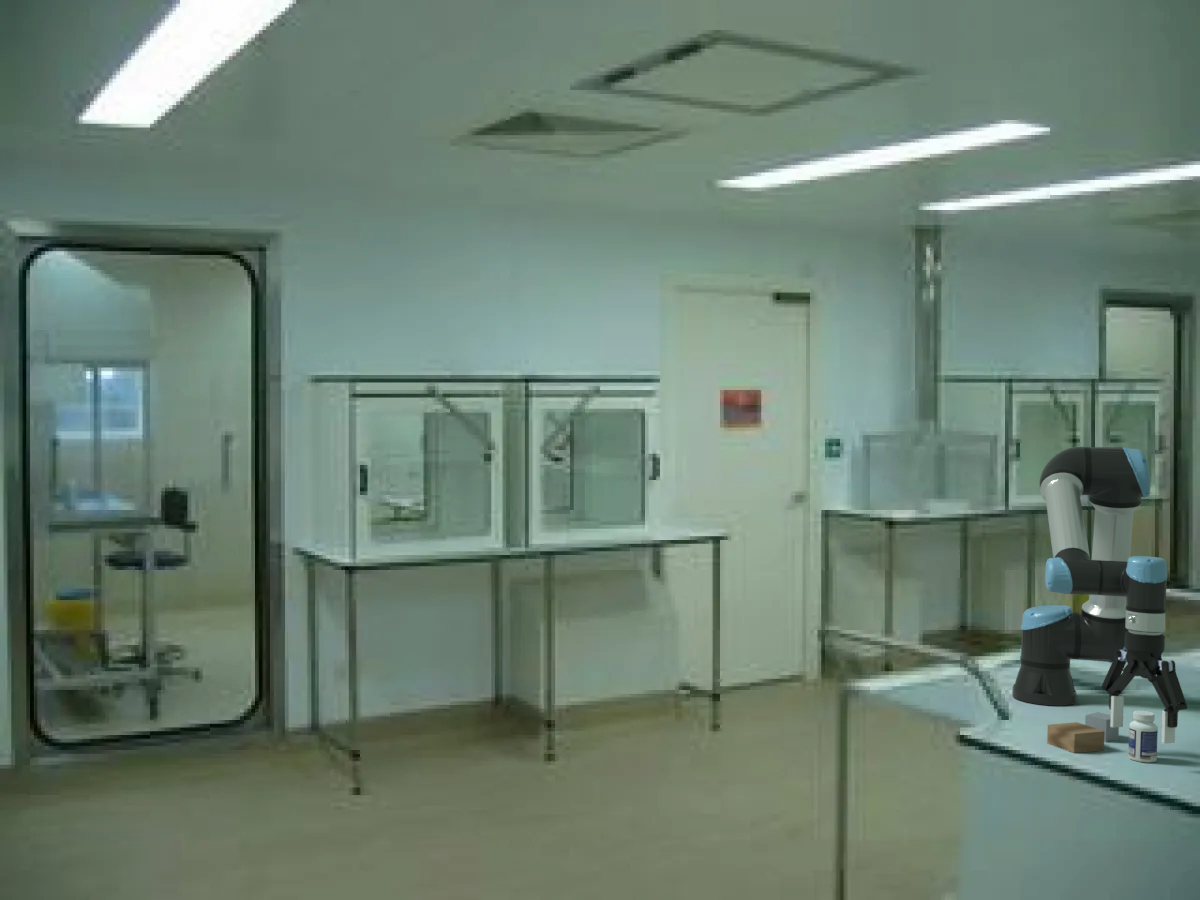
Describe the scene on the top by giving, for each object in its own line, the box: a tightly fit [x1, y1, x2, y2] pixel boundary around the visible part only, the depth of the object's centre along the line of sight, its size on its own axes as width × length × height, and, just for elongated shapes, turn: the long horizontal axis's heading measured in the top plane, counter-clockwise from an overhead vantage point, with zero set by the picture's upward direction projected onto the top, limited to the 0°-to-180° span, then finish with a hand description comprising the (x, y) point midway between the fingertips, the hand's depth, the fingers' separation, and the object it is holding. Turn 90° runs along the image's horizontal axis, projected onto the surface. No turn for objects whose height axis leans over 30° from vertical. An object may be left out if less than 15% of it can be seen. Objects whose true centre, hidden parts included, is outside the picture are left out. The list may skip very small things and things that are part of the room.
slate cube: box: [1084, 711, 1120, 743], centre depth 265 cm, size 5×5×5 cm
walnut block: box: [1046, 721, 1105, 754], centre depth 257 cm, size 8×8×4 cm
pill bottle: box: [1127, 710, 1159, 764], centre depth 248 cm, size 5×5×10 cm
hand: (1141, 734), depth 248 cm, fingers open, 13 cm apart
